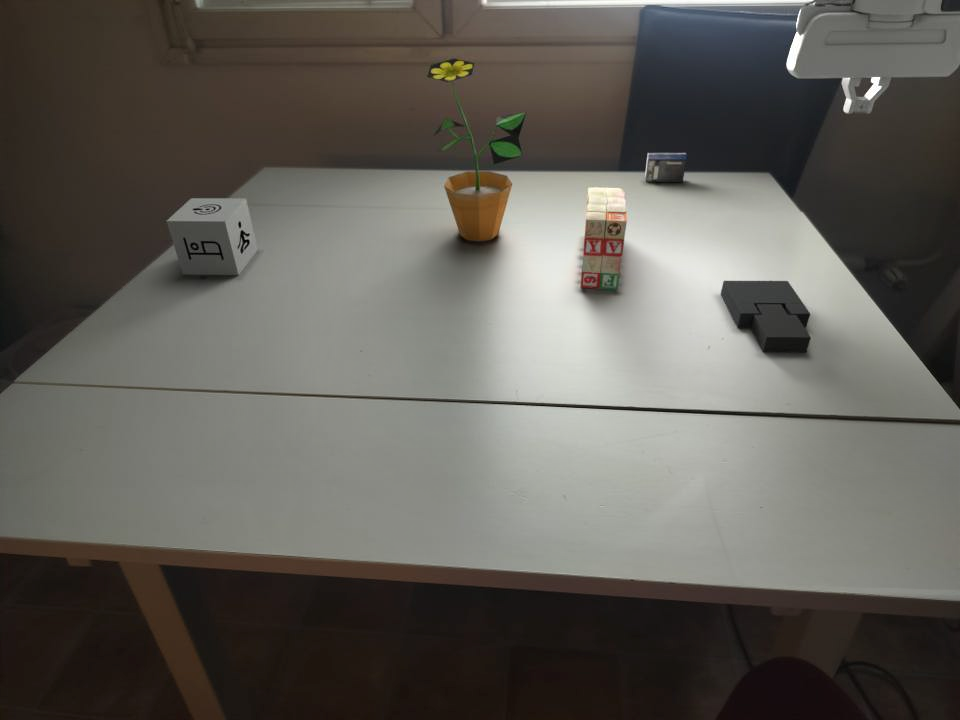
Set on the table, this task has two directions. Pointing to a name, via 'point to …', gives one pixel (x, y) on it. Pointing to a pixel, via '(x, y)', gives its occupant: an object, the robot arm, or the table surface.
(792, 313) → the base
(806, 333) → the black tabbed insert block
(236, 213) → the icon cube
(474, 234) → the potted plant
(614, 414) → the table surface
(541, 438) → the table surface
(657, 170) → the mini dv tape
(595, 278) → the stack of blocks
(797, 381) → the table surface
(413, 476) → the table surface
